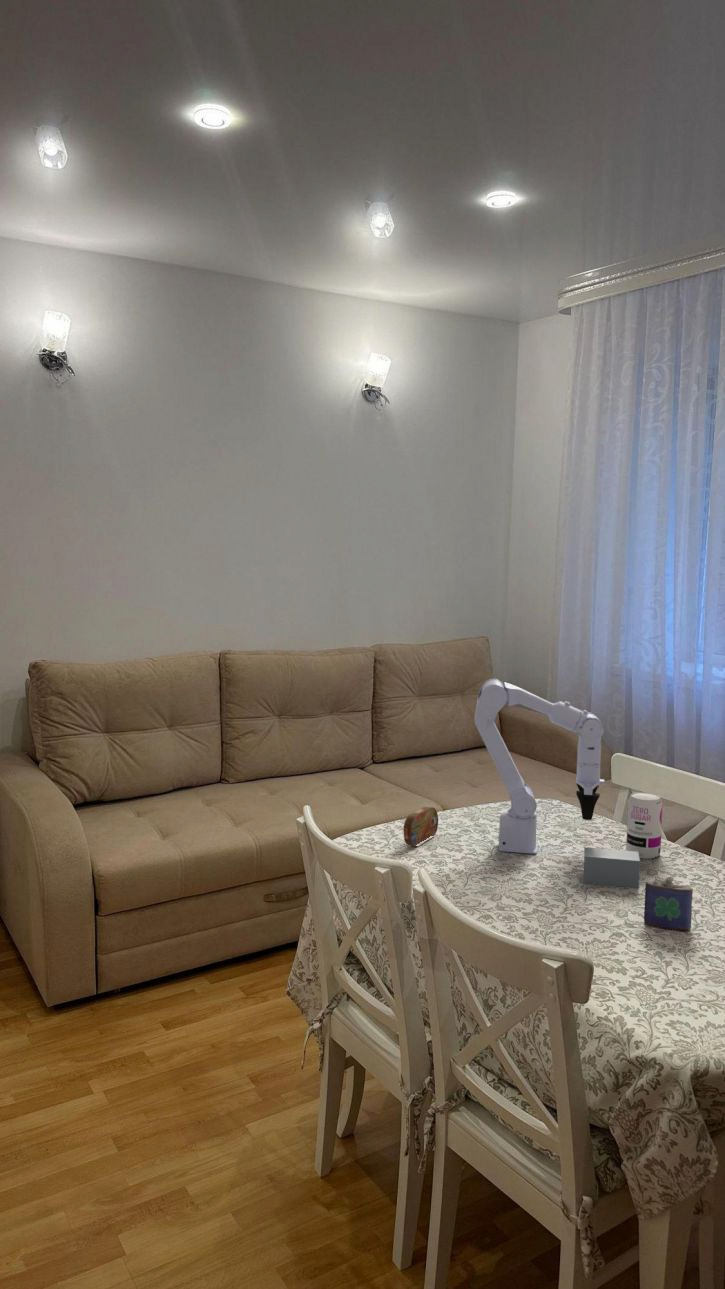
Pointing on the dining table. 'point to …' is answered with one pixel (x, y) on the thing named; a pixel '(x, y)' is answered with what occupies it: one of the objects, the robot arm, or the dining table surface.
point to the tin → (420, 825)
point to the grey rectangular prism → (611, 867)
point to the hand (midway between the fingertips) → (587, 814)
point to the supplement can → (644, 824)
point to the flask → (668, 905)
